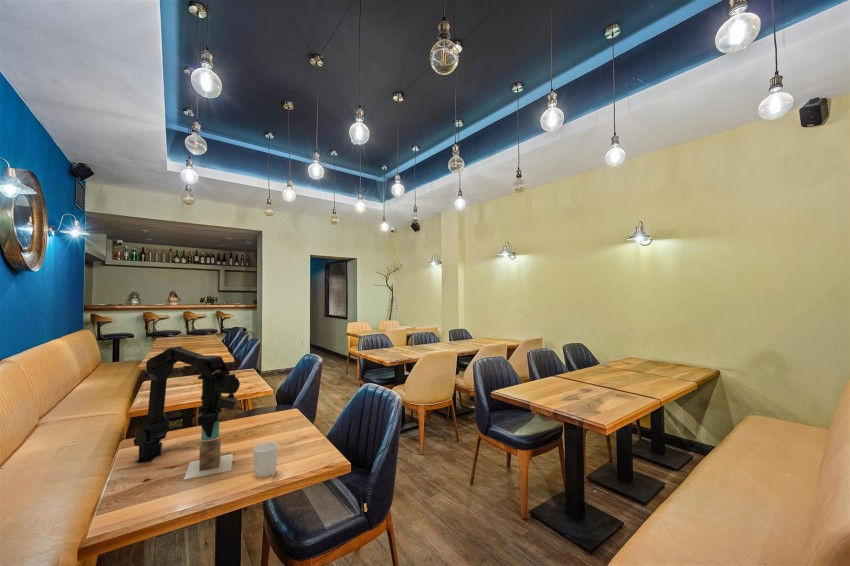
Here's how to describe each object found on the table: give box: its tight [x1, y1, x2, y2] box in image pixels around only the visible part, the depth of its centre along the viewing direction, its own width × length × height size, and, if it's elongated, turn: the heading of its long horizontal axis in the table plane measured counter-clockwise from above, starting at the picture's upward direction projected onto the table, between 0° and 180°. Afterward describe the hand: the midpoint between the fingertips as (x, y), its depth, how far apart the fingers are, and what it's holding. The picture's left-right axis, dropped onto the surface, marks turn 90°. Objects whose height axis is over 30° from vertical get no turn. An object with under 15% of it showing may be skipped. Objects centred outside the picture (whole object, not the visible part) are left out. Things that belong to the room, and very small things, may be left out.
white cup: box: [252, 441, 279, 478], centre depth 122 cm, size 8×8×10 cm
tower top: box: [199, 438, 222, 460], centre depth 127 cm, size 6×6×4 cm
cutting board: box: [183, 453, 234, 481], centre depth 127 cm, size 14×14×1 cm
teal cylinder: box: [200, 420, 220, 441], centre depth 127 cm, size 6×6×5 cm
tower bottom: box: [199, 450, 221, 471], centre depth 127 cm, size 6×6×4 cm
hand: (210, 434), depth 127 cm, fingers closed on teal cylinder, 5 cm apart
